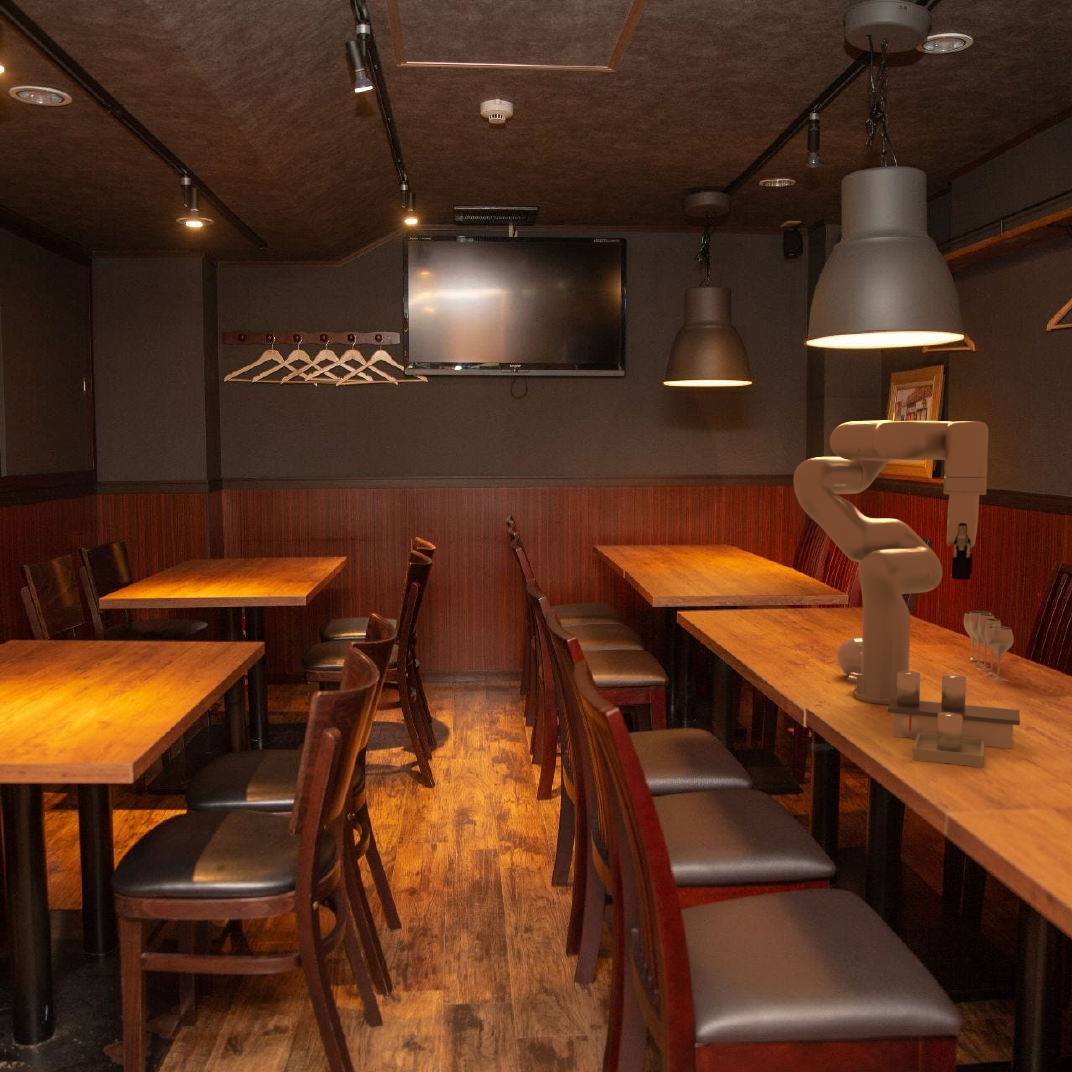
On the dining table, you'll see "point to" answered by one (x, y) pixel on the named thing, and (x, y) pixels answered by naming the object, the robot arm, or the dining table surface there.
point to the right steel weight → (949, 732)
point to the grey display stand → (975, 724)
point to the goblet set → (988, 637)
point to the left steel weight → (908, 688)
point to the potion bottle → (850, 655)
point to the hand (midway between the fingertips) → (961, 576)
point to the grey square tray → (928, 751)
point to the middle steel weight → (953, 692)
